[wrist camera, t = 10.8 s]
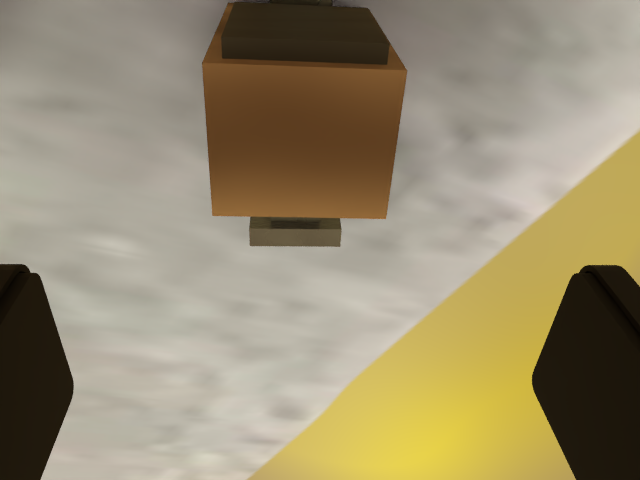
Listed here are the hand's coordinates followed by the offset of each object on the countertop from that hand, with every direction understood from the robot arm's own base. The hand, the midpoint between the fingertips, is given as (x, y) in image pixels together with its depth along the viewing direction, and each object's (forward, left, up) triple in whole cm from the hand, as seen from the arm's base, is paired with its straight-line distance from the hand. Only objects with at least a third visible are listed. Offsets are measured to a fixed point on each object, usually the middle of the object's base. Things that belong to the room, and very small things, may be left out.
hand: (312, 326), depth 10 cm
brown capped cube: (0, 0, -17) cm, 17 cm away
